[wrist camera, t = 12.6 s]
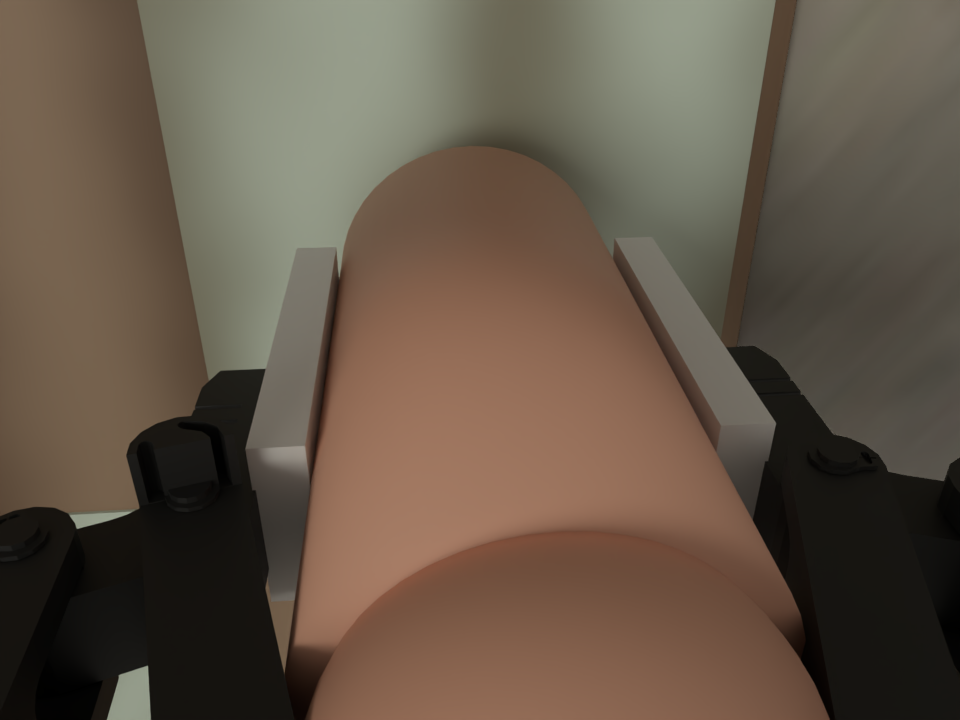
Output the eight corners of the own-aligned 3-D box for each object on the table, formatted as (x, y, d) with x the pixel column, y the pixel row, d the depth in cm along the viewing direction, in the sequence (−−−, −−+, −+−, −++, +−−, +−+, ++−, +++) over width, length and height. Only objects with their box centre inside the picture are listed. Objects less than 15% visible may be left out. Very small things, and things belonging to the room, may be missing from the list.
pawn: (351, 387, 20) (272, 1301, 7) (330, 149, 17) (142, 971, 4) (590, 377, 20) (904, 1224, 8) (608, 142, 17) (1150, 878, 5)
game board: (-132, 818, 30) (-142, 835, 29) (-689, -90, 16) (-727, -89, 15) (658, 758, 32) (663, 773, 31) (803, -97, 18) (815, -96, 17)
